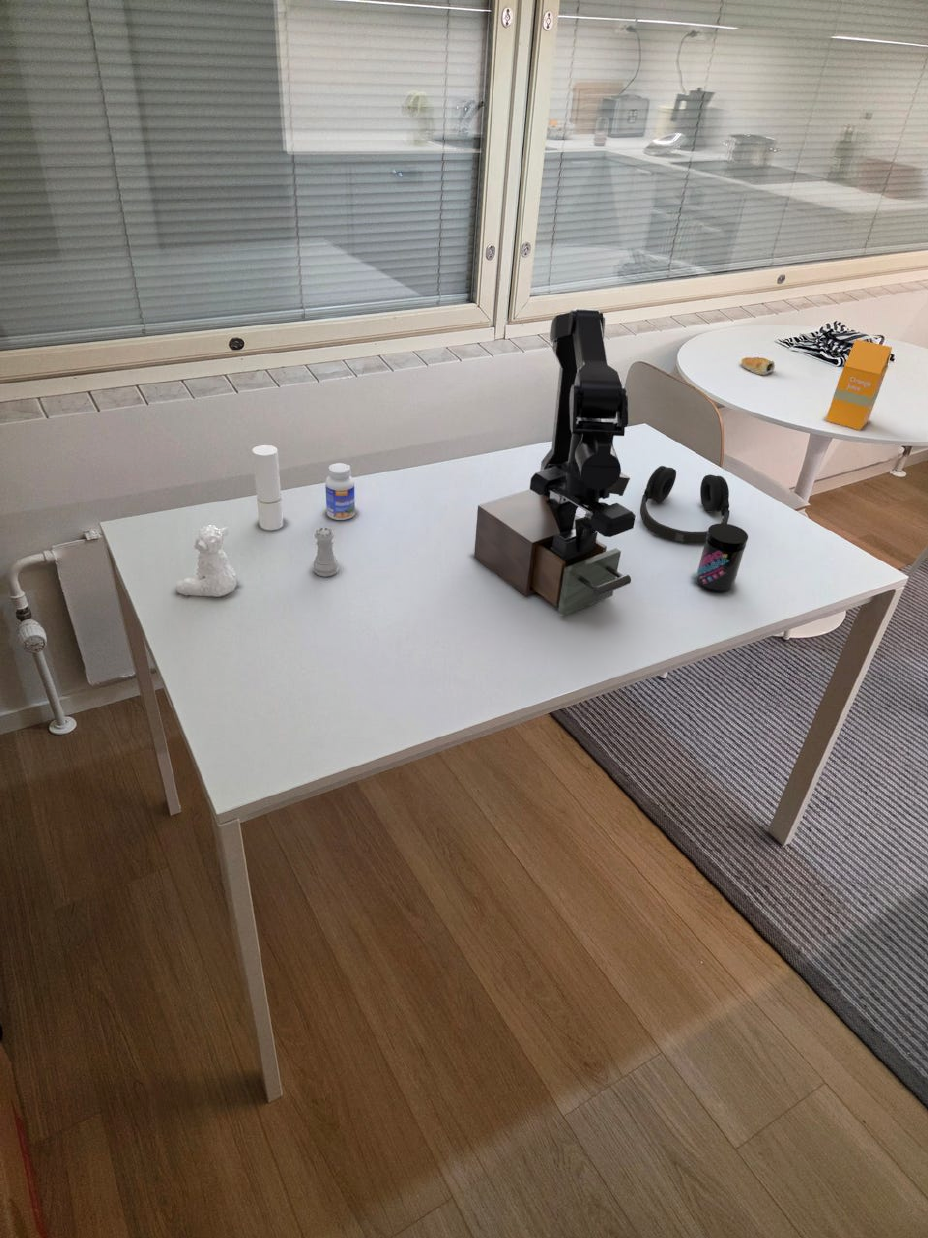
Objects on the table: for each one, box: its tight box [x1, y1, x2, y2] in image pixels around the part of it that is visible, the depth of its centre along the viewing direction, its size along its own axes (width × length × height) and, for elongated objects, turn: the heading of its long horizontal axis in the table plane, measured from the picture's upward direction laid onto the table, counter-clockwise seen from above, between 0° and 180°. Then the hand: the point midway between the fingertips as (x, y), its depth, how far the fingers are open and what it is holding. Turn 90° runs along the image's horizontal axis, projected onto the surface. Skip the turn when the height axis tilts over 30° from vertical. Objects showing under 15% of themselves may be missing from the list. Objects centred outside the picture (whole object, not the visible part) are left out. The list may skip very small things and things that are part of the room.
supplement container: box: [695, 522, 749, 594], centre depth 144 cm, size 7×7×10 cm
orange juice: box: [825, 338, 893, 431], centre depth 208 cm, size 8×9×20 cm
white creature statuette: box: [175, 524, 238, 598], centre depth 134 cm, size 10×9×12 cm
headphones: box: [639, 465, 730, 545], centre depth 164 cm, size 17×7×20 cm
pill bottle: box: [324, 462, 356, 521], centre depth 157 cm, size 5×5×10 cm
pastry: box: [740, 356, 776, 376], centre depth 241 cm, size 9×7×4 cm
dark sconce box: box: [550, 528, 599, 561], centre depth 136 cm, size 8×3×4 cm, turn 127°
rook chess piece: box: [312, 526, 340, 578], centre depth 141 cm, size 4×4×8 cm
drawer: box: [530, 539, 632, 617], centre depth 138 cm, size 18×11×9 cm, turn 36°
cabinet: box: [473, 488, 581, 597], centre depth 145 cm, size 15×13×11 cm
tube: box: [251, 444, 284, 531], centre depth 150 cm, size 4×4×15 cm
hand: (573, 546), depth 136 cm, fingers closed on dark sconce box, 3 cm apart
